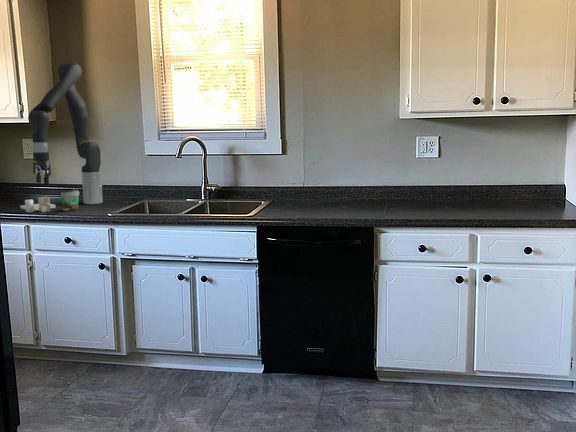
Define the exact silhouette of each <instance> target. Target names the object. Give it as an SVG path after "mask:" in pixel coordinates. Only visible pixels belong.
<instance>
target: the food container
mask: <svg viewBox="0 0 576 432" xmlns="http://www.w3.org/2000/svg"><path fill="white" fill-rule="evenodd" d="M79 195H80V191H79V190H78V189H72V190H71V191H66V192H60V197H61V204H62V211H63V213H69V212H70V211H72V212H77V211H79Z"/></svg>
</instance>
